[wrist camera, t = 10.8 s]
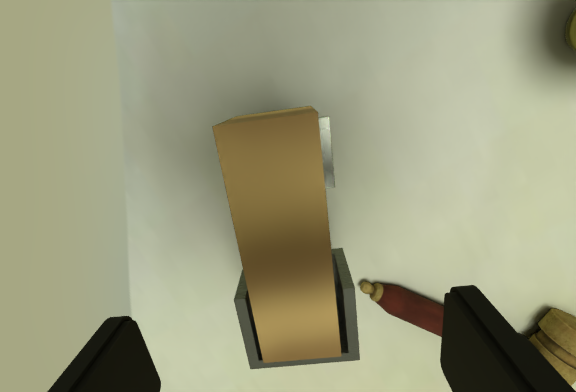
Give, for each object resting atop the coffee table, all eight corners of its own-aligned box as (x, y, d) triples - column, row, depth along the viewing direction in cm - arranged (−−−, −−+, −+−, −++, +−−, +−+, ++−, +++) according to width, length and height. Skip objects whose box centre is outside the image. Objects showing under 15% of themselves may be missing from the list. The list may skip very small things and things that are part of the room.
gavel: (336, 345, 25) (398, 252, 22) (333, 309, 29) (384, 227, 26) (546, 435, 26) (633, 359, 23) (513, 388, 31) (582, 318, 27)
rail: (236, 116, 16) (212, 126, 11) (310, 105, 16) (317, 112, 11) (270, 298, 20) (263, 363, 15) (330, 292, 19) (341, 356, 15)
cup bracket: (255, 223, 25) (233, 299, 16) (332, 215, 24) (354, 287, 15) (265, 274, 26) (250, 369, 17) (337, 266, 26) (359, 360, 17)
